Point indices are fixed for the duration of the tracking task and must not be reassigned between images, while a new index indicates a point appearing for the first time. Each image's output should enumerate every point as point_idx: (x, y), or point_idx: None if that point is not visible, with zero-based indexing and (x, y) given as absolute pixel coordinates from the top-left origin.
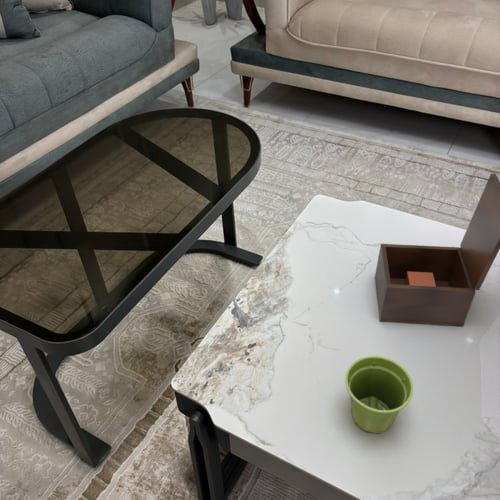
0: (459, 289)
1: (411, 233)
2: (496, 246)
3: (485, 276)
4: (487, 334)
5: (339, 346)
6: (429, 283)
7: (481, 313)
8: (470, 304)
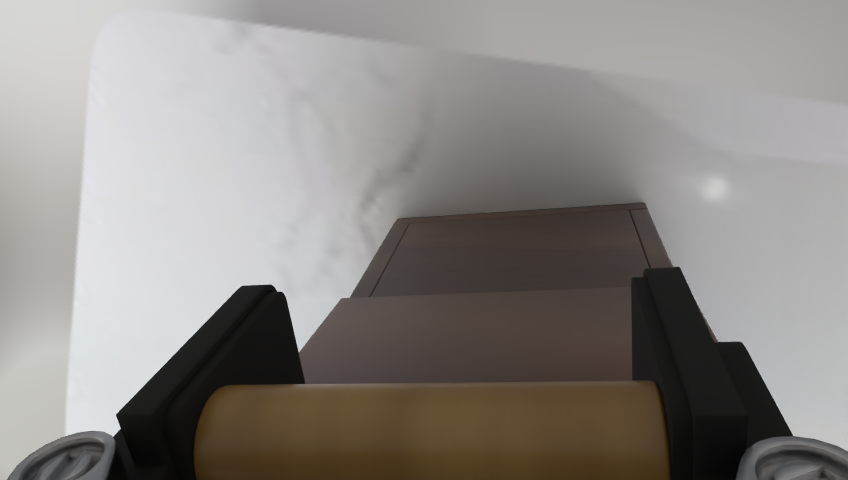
0: None
1: (158, 326)
2: None
3: (711, 330)
4: (678, 114)
5: None
6: None
7: (559, 122)
8: (667, 256)
